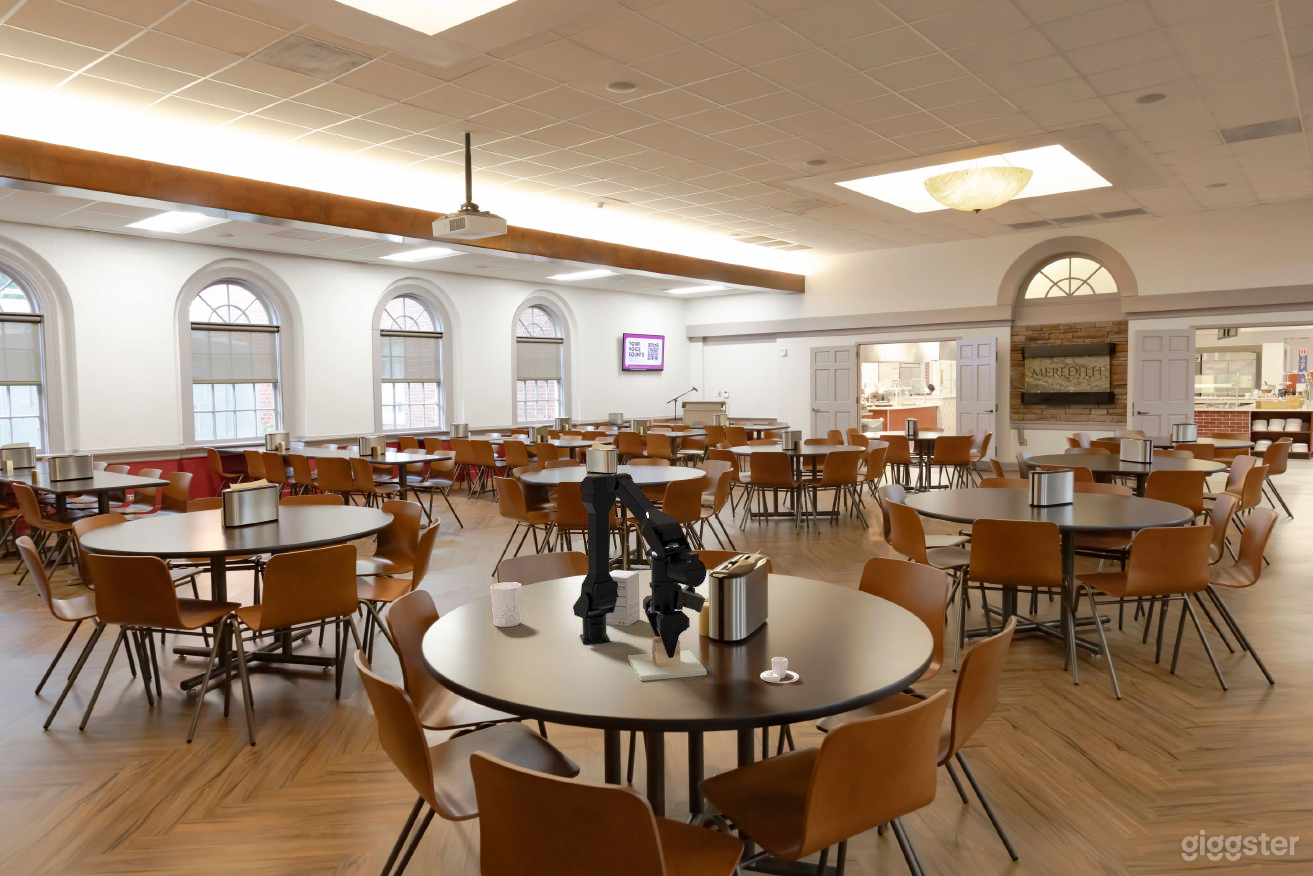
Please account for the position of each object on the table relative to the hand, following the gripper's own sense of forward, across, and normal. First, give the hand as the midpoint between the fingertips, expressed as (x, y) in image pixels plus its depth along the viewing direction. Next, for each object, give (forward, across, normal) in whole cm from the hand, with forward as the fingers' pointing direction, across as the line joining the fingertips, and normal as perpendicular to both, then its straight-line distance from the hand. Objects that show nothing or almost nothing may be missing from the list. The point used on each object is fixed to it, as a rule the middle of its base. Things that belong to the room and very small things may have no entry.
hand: (665, 651), depth 177 cm
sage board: (+4, 0, 0) cm, 4 cm away
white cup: (+4, +44, +32) cm, 54 cm away
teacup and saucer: (+4, -11, -18) cm, 22 cm away
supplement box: (+4, +38, +3) cm, 38 cm away
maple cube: (+2, 0, 0) cm, 3 cm away
